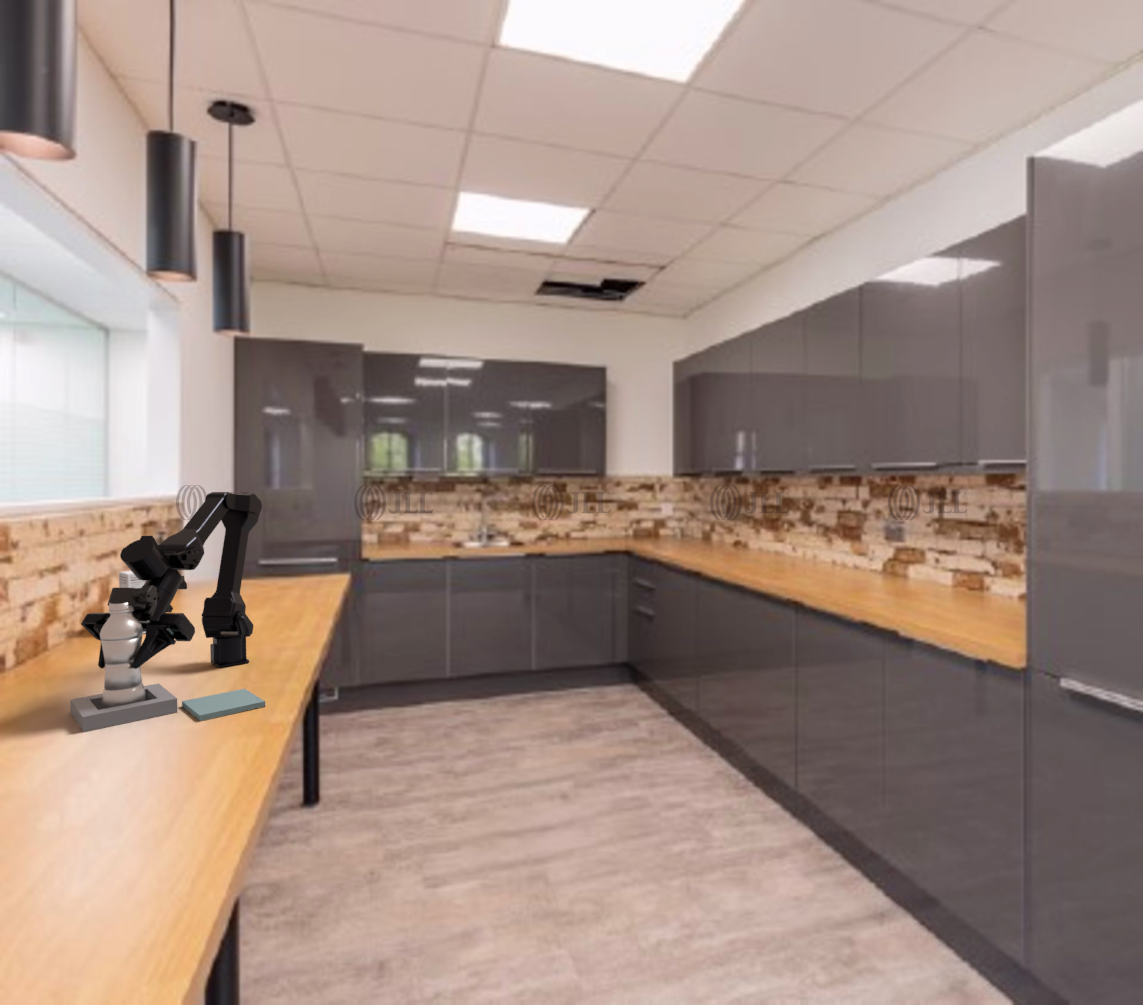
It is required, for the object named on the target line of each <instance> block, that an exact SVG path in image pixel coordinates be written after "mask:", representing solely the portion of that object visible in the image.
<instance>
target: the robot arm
mask: <svg viewBox="0 0 1143 1005" xmlns="http://www.w3.org/2000/svg"><path fill="white" fill-rule="evenodd" d="M262 507H263V504H262V501H261V499H259V498H258V496H257V495H256V494H254V493H232V492H231V493H230V492H229V491H212V492H210V493H207V495H206V496H205V499H204V502H202V504H201V506H199V508H198V509H197V511H195V513H194V514H193V516H191V518H190V519H189V521H188V522H187V523H186V525H185V526H184V527H183V528H182V529H181V530H180V531H178V532H175V533H174V534H171V535H169V536H168V537H167V538H165V540H162V542H161V543H160V544H158V542H157V540H156V539H155V538H154V536H153V535H141V536H140V538H139V539H137V540H134V541H132V542H130V543H129V544H128V545H126V546H125V547H123V549H122V550H121V552H120V554H119V557H120V560H122V562H123V563H124V564H125V565H126V566H127V568H128V569H129V571H132V572H133V574H134V575H135V576H136V577H137V578H138V579H139V580H143V581H146V582H145V584H144V585H143V586H142V588H119V587H112V588H111V591H110V594H109V598H108V602H107V606H108V607H109V603H111V604H121V603H128V605H131V606H134V611H133V612H132V614H133V615H134V617H135V618H136V619H137V620H138V621H139V622H140V624H141V625H142V628H143V632H146V633H145V636H144V637H145V638H144V639H143V640H142V643H141V647H140V649H139V651H138V653H137V655H136V657H135V659H134V661H133V664H132V667H133V668H134V669H137V668H138V667H140V668H141V666H142V665H144V664H145V663H146V662H148V661H149V660H151V659H152V658H153V657H154V656H156V655H157V654H159V653H160V652H162V651H163V650H165V649H166V648H168V647H169V646H173V645H175V644H176V643H177V642H191V640H192V639H193V637H194V635H195V633H196V628H195V626H194V624H193V623H192V622H191V621H190V620H189V619H188V617H187V616H186V614H184V613H183V612H173V610H174V607H173V606H172V601H173V600H174V598H175V596H176V594H177V592H178V590H187V588H188V583H187V582H186V580H185V579H186V578H185V575H182V574H181V573H180V572H179V571H193V570H195V569H197V567H198V566H199V564H200V563H201V561H202V559H203V557H204V555H205V548H204V545H205V543H206V541H207V540H208V538H210V536H211V534H212V533H213V532H214V531H215V529H216V528H217V526H218V525H219V524H220V522H221V523H222V524H223V527H224V529H225V530H224V531H225V532H224V538H223V546H222V551H221V557H220V564H219V571H218V576H217V581H216V582H217V583H216V589H215V592H214V593H213V595H212V596H211V597H205V599H204V601H203V610H202V613H201V623H202V627H203V631H204V635H205V638H206V639H209V638H212V643H210V663H211V664H213V665H214V666H216V667H218V668H225V667H230V666H236V665H242V664H248V663H250V660H249V659H247V658H248V657H247V638H249V637H251V635H253V631H254V624H253V622H252V621H251V619H250V618H249V617H248V615H247V614H246V609H247V608H246V607H247V606H246V603H245V601H244V599H243V596H242V595H241V588H242V581H243V573H244V566H245V560H246V553H247V546H248V540H249V533H250V532H251V530H253V528H254V527H255V526H256V524H257V523H258V521H259V519H260V518H259V517H260V515H261V514H260V513H261V511H262ZM110 615H111V614H109V613H108V612H89V613H86V614H85V616H84V618H83V620H82V621H81V623H80V625H81V626H82V627H83V628H84V629H85V630H86V631H87V632H88V633H89V634H90V635H91V636H93V638H94V639H96V640H98V641H100V642H101V639H100V632H101V629H102V627H103V625H104V624H105V622H106V621H107V620H108V619H109V618H110ZM98 654H99V655H98V663H97V665H98V666H97V667H99V668H100V669H105V663H104V654H103V649H102V644H101V643H100V647H99V653H98Z"/></svg>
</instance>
